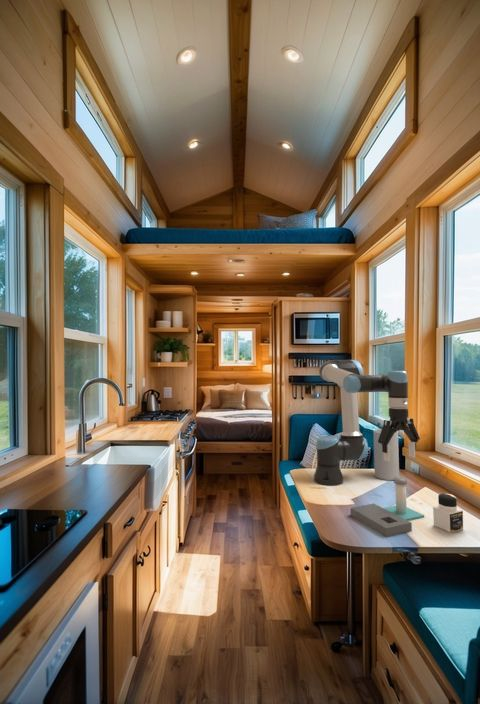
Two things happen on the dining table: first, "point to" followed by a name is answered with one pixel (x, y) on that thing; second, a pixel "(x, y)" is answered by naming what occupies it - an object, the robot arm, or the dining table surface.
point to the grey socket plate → (381, 519)
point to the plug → (400, 494)
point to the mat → (409, 515)
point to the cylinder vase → (381, 466)
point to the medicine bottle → (448, 514)
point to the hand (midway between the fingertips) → (399, 458)
